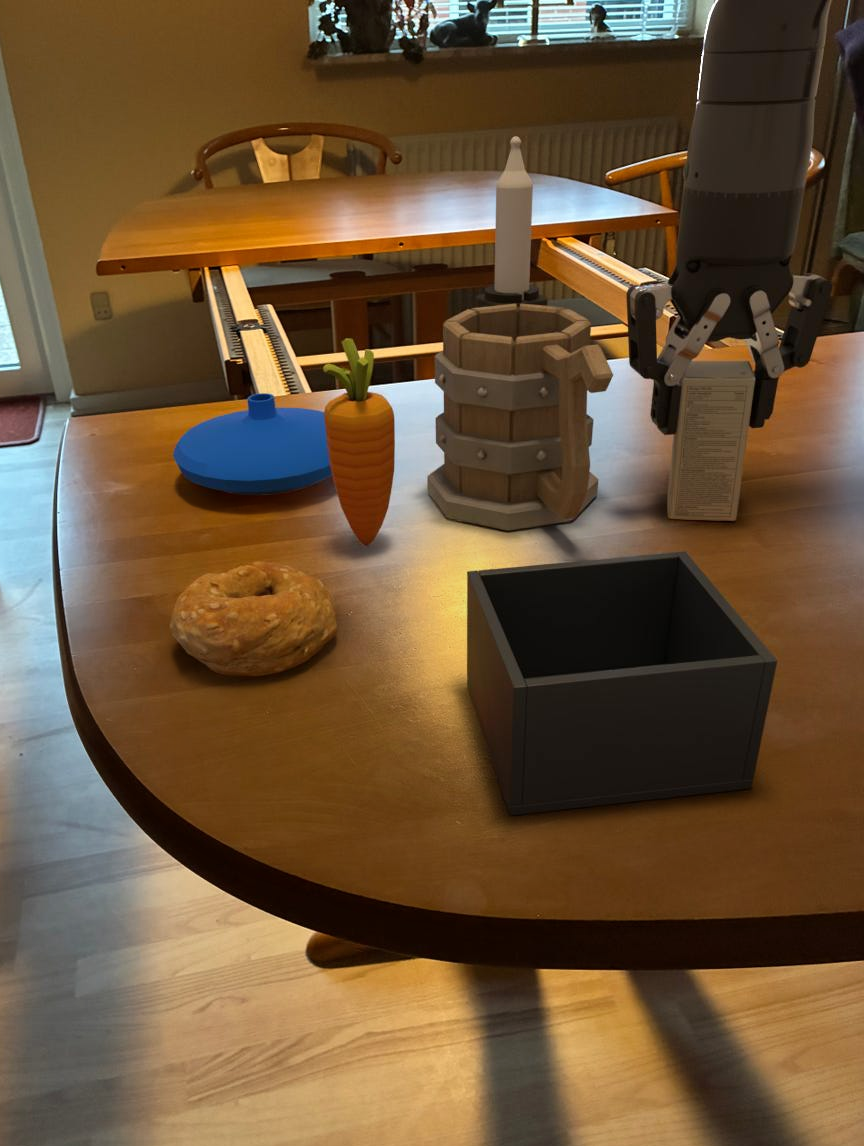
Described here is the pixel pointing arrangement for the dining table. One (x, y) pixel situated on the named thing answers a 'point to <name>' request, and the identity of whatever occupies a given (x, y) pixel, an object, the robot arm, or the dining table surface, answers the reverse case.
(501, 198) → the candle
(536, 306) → the tankard
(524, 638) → the bin
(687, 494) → the box
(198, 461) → the vase
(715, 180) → the robot arm
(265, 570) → the bagel
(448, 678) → the dining table surface
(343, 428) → the carrot
